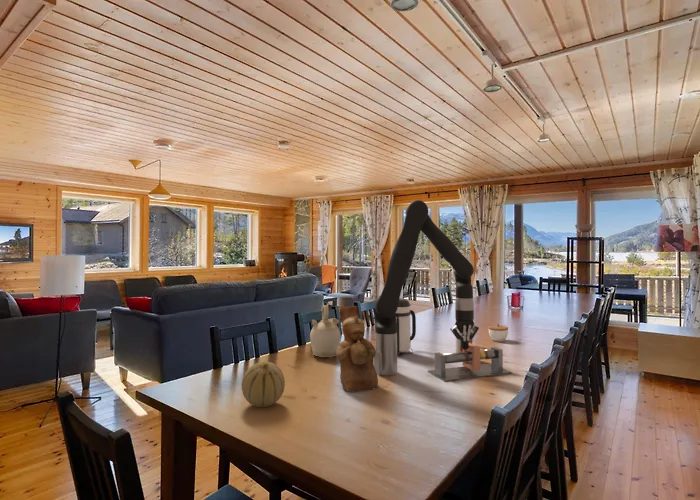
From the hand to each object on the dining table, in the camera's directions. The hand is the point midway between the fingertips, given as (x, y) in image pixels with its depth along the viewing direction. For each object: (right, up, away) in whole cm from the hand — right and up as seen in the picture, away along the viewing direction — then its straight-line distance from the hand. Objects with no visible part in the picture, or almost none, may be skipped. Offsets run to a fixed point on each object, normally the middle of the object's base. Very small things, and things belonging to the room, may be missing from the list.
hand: (464, 349), depth 175 cm
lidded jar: (+36, -10, +61) cm, 72 cm away
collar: (+3, -8, +1) cm, 9 cm away
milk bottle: (+6, -10, +22) cm, 25 cm away
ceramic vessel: (-46, -11, -12) cm, 49 cm away
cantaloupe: (-78, -11, -34) cm, 86 cm away
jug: (-61, -11, +33) cm, 70 cm away
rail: (+2, -10, +1) cm, 10 cm away
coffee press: (-23, -10, +37) cm, 45 cm away
